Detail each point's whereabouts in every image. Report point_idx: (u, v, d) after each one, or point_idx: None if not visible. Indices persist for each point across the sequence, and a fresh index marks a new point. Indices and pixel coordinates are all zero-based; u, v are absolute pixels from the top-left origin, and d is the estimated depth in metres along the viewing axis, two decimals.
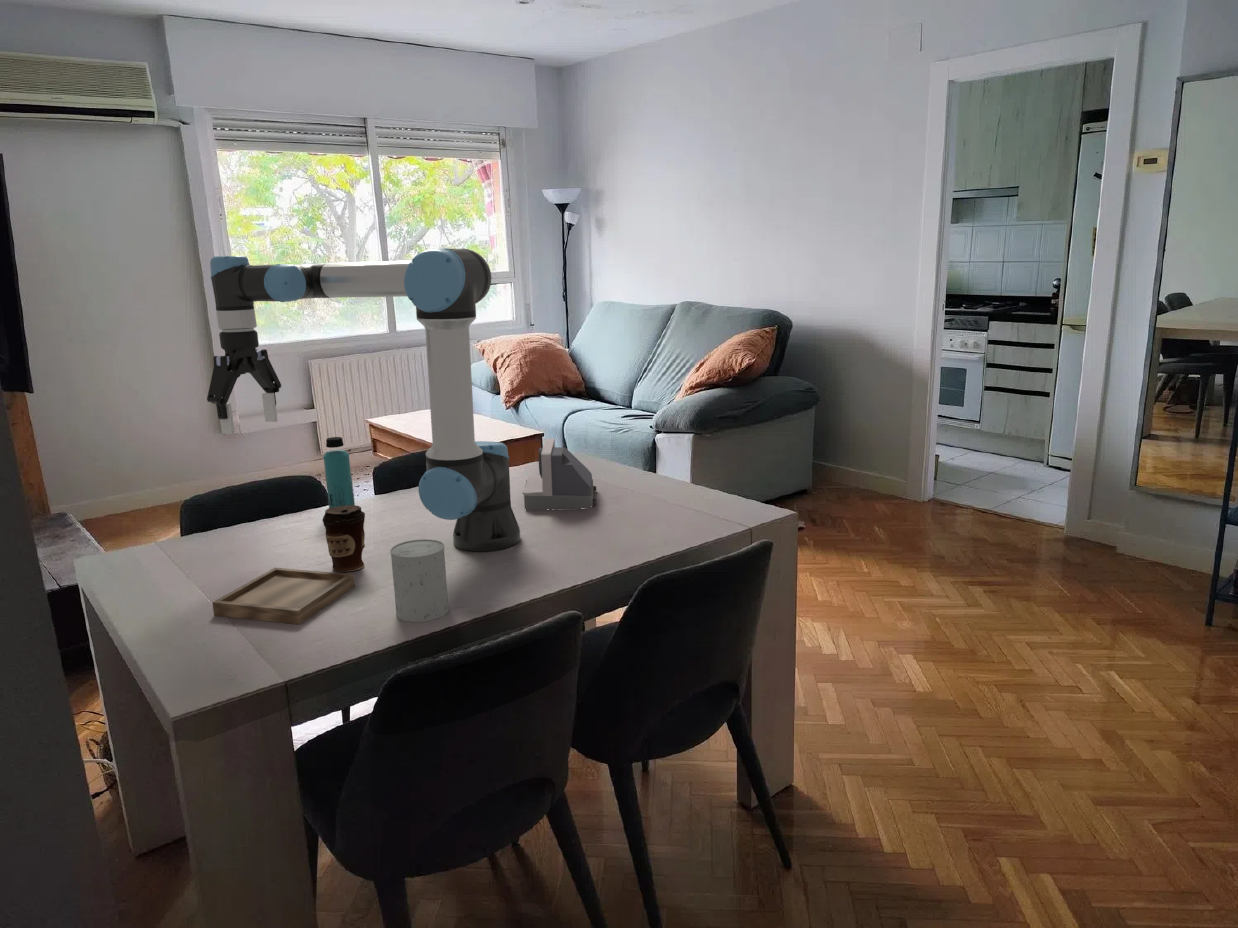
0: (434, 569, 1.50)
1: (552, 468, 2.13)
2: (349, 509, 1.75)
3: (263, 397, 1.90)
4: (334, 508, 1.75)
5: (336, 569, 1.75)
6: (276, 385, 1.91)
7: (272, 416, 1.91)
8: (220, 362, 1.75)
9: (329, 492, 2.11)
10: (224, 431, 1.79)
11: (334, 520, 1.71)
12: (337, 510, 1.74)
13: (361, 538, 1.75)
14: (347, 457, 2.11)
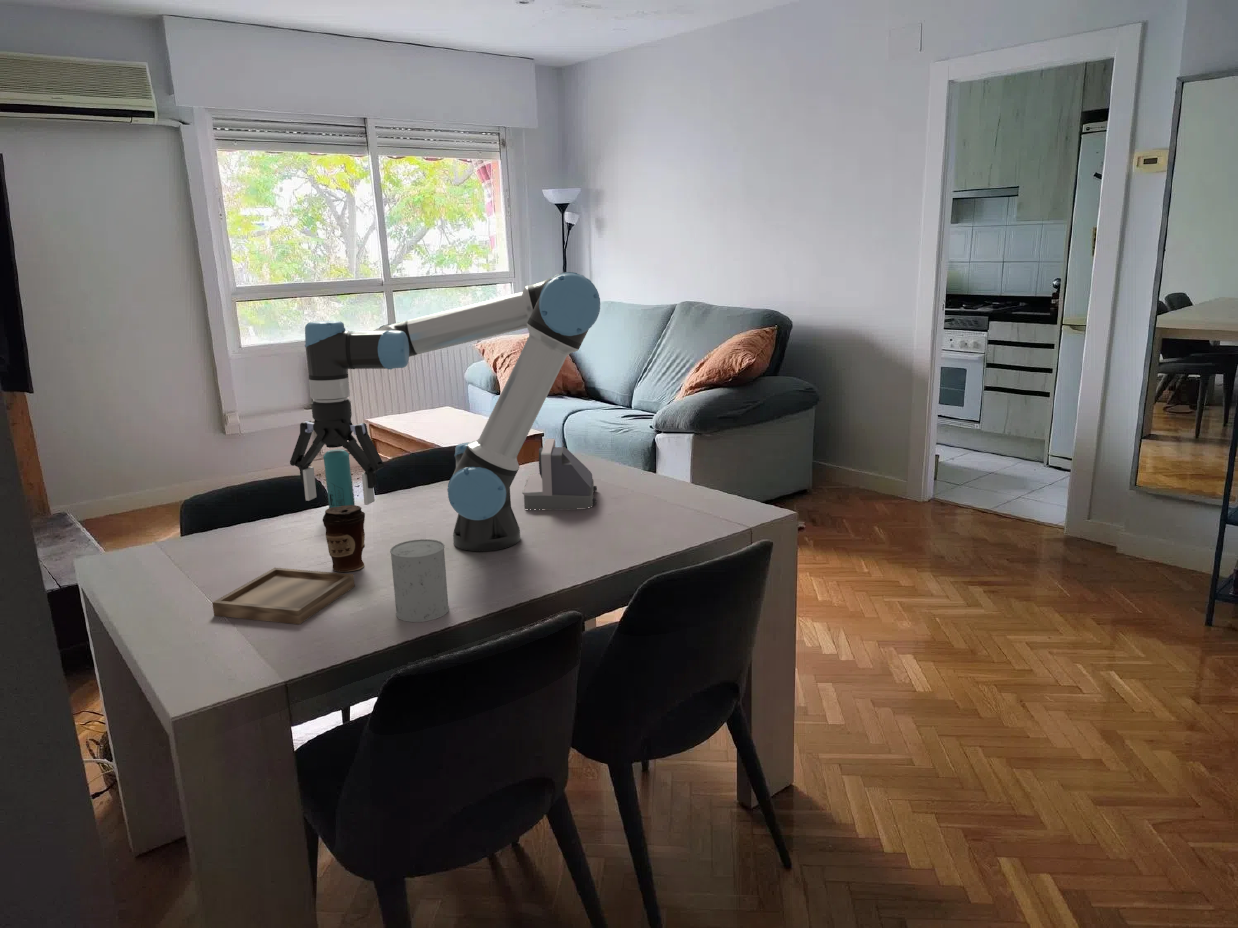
0: (434, 569, 1.50)
1: (552, 468, 2.13)
2: (349, 509, 1.75)
3: None
4: (334, 508, 1.75)
5: (336, 569, 1.75)
6: None
7: None
8: None
9: (329, 492, 2.11)
10: None
11: (334, 520, 1.71)
12: (337, 510, 1.74)
13: (361, 538, 1.75)
14: (347, 457, 2.11)
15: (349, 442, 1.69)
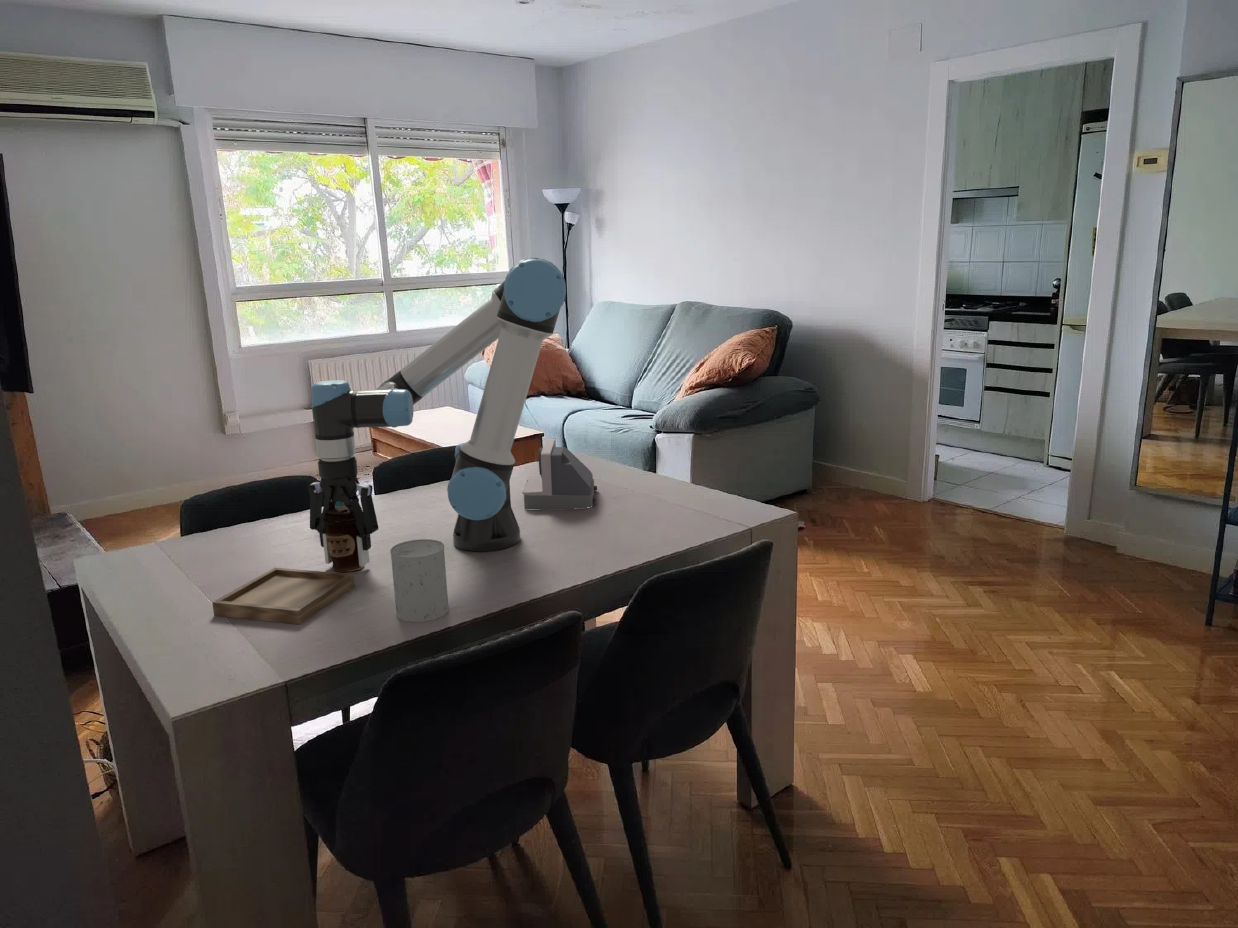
0: (434, 569, 1.50)
1: (552, 468, 2.13)
2: None
3: None
4: (334, 508, 1.75)
5: (336, 569, 1.75)
6: None
7: None
8: None
9: None
10: None
11: (334, 520, 1.71)
12: (337, 510, 1.74)
13: None
14: None
15: (352, 502, 1.72)
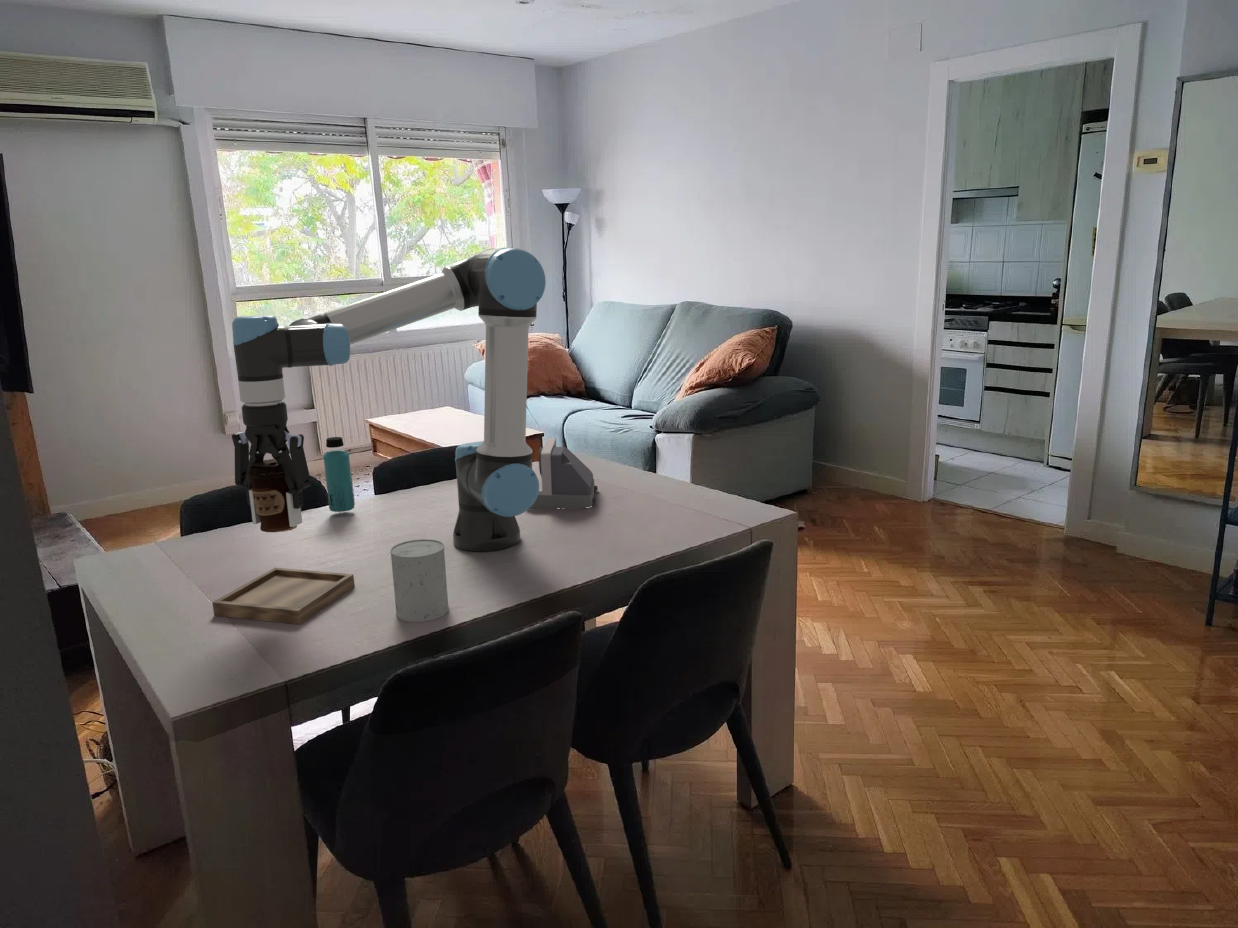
0: (434, 569, 1.50)
1: (552, 467, 2.13)
2: None
3: None
4: (262, 461, 1.56)
5: (263, 529, 1.55)
6: None
7: None
8: None
9: (329, 492, 2.11)
10: None
11: (260, 472, 1.51)
12: (265, 463, 1.55)
13: None
14: (347, 457, 2.11)
15: (281, 453, 1.53)
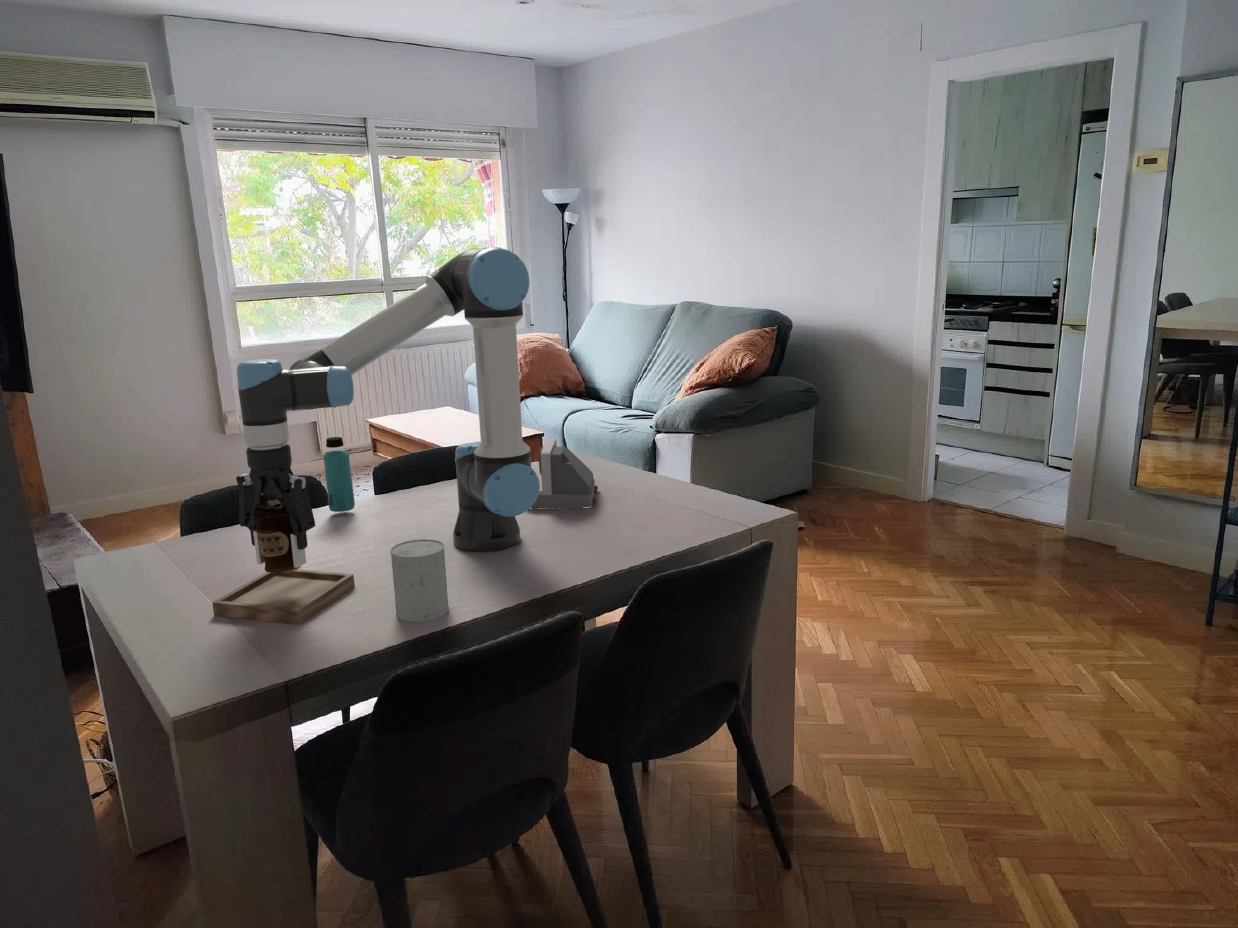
0: (434, 569, 1.50)
1: (551, 467, 2.13)
2: None
3: None
4: (266, 502, 1.57)
5: (268, 570, 1.57)
6: None
7: None
8: None
9: (329, 492, 2.11)
10: None
11: (264, 515, 1.53)
12: (269, 504, 1.56)
13: None
14: (347, 457, 2.11)
15: (285, 495, 1.54)
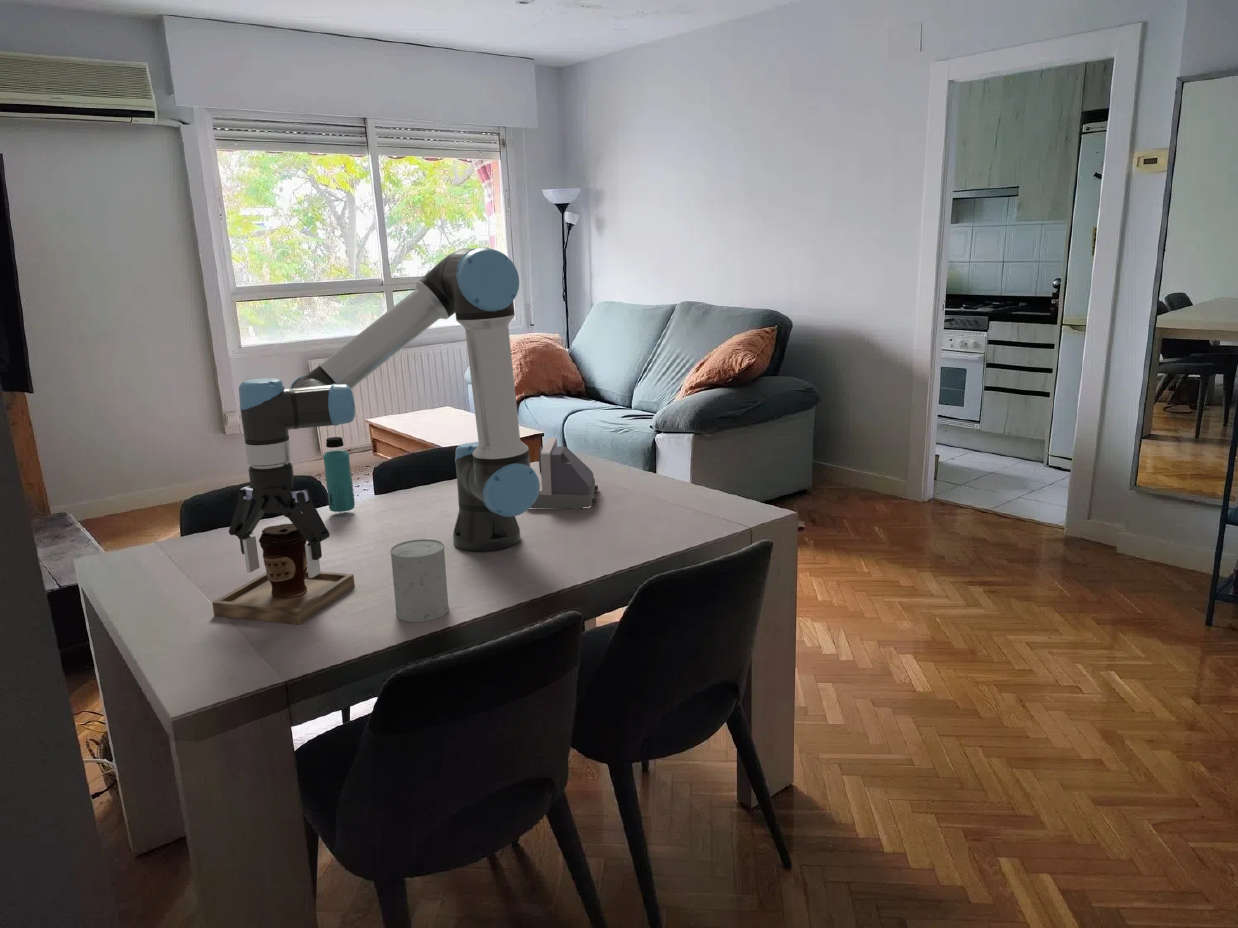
0: (434, 569, 1.50)
1: (551, 467, 2.14)
2: (289, 528, 1.58)
3: None
4: (273, 527, 1.58)
5: (275, 595, 1.58)
6: None
7: None
8: None
9: (329, 492, 2.11)
10: None
11: (271, 540, 1.54)
12: (276, 529, 1.57)
13: (303, 560, 1.58)
14: (347, 457, 2.11)
15: (291, 510, 1.55)
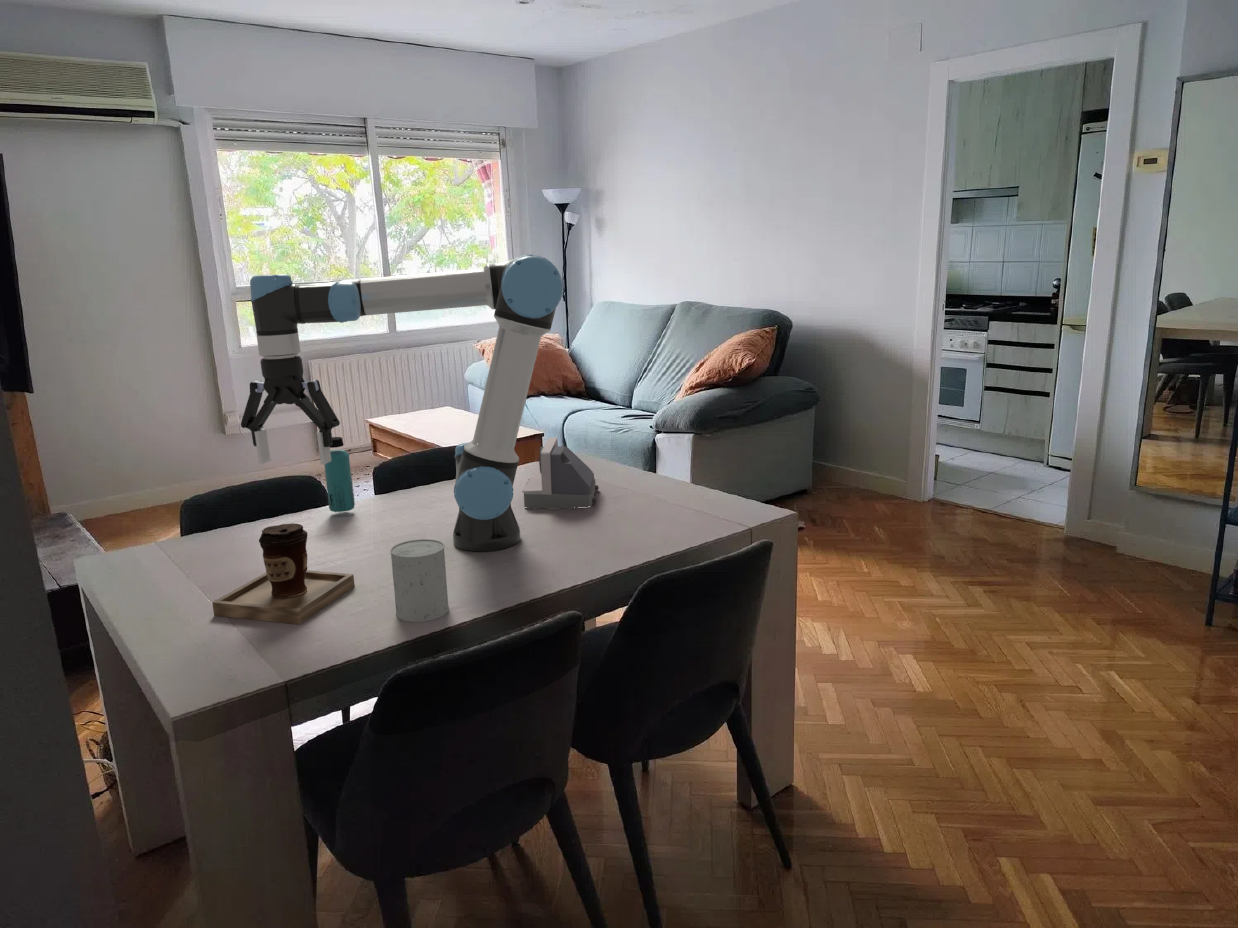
0: (434, 569, 1.50)
1: (551, 467, 2.14)
2: (289, 528, 1.58)
3: None
4: (273, 527, 1.58)
5: (275, 595, 1.58)
6: None
7: None
8: None
9: (329, 492, 2.11)
10: None
11: (271, 540, 1.54)
12: (276, 529, 1.57)
13: (303, 560, 1.58)
14: (347, 457, 2.11)
15: (302, 400, 1.64)
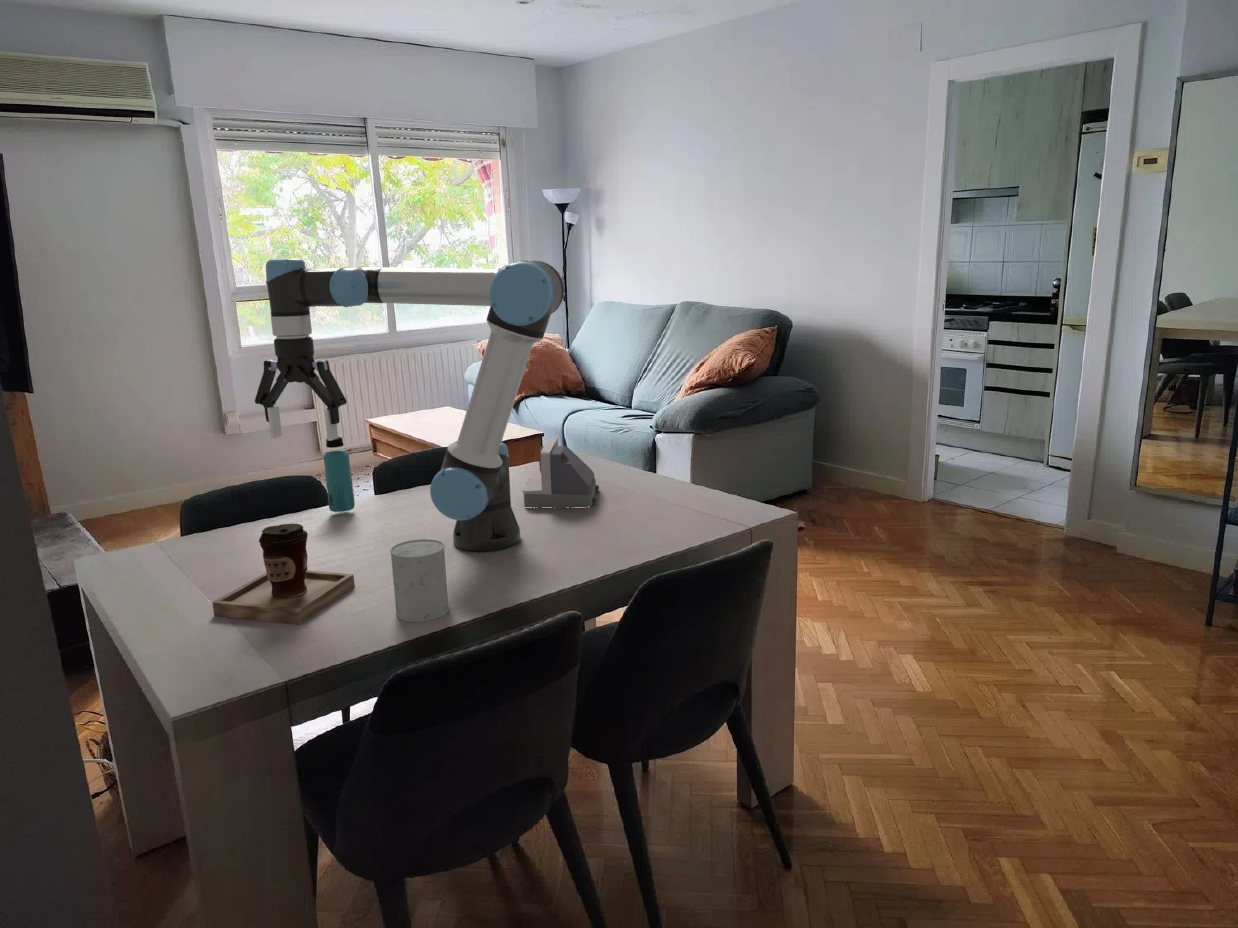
0: (434, 569, 1.50)
1: (551, 467, 2.14)
2: (289, 528, 1.58)
3: None
4: (273, 527, 1.58)
5: (275, 595, 1.58)
6: None
7: None
8: None
9: (329, 492, 2.11)
10: None
11: (271, 540, 1.54)
12: (276, 529, 1.57)
13: (303, 560, 1.58)
14: (347, 457, 2.11)
15: (312, 379, 1.72)
